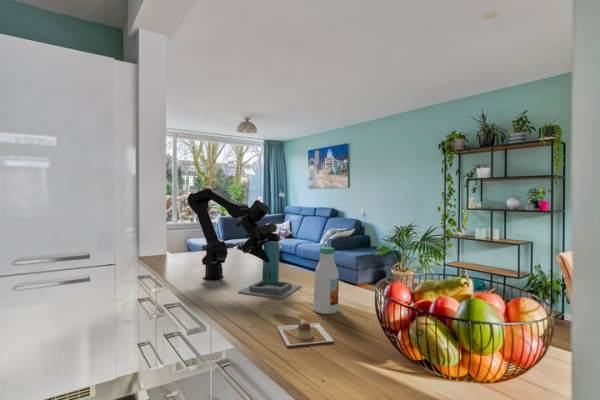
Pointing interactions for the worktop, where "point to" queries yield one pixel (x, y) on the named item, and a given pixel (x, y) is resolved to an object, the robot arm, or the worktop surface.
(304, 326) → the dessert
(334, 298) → the milk bottle
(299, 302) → the worktop surface
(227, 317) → the worktop surface
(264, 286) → the grey square base plate
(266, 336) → the worktop surface
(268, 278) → the beverage bottle
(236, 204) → the robot arm
